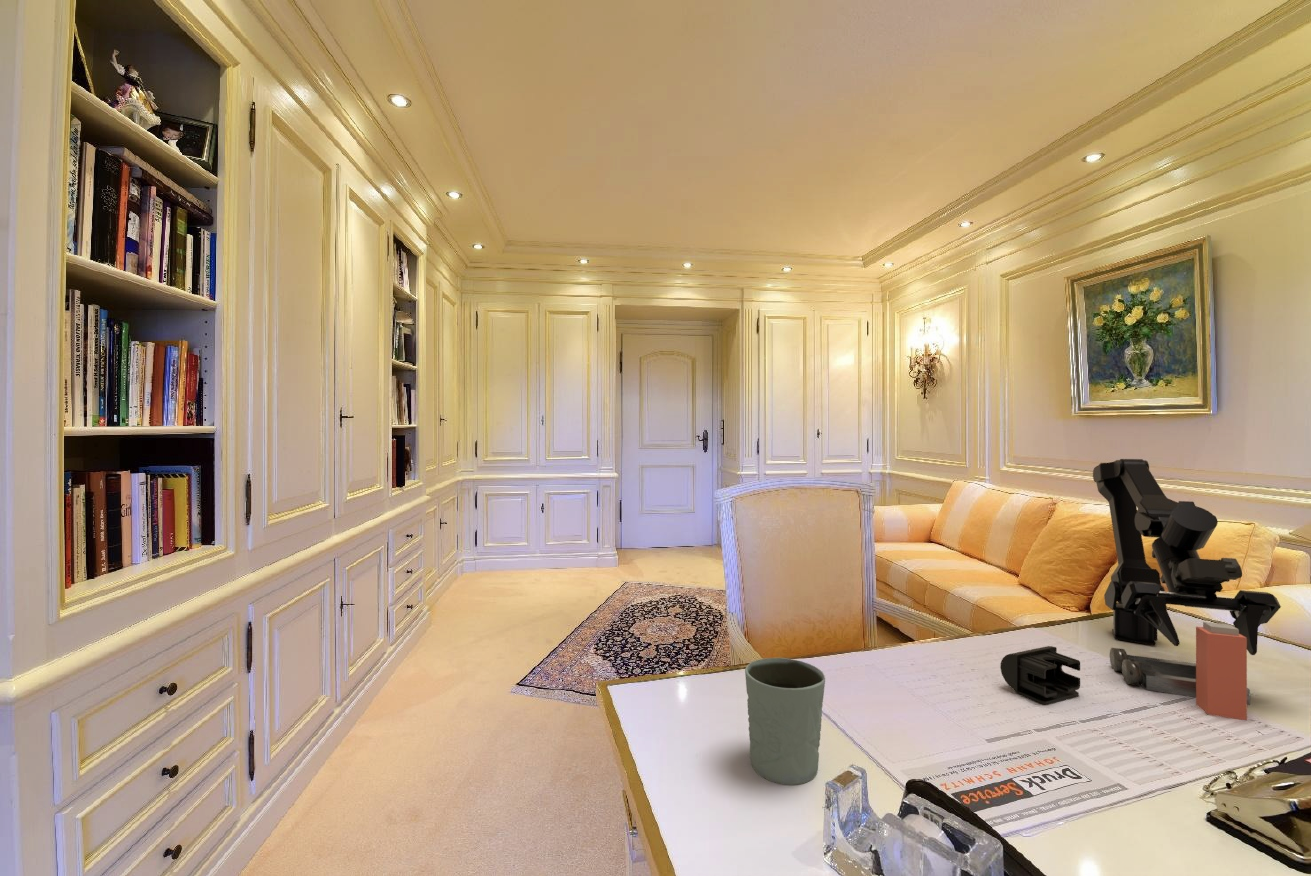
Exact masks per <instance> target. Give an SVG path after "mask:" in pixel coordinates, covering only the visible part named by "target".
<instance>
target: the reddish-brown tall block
mask: <svg viewBox="0 0 1311 876" xmlns="http://www.w3.org/2000/svg"><path fill="white" fill-rule="evenodd" d="M1247 654H1248V650H1247V638H1246V637H1244V636H1243V635H1241V634H1239V629H1237V628H1235V626H1234V625H1231V624H1226V623H1218V622H1209V621H1208V622H1207V621H1203V622H1202V626H1195V663H1196V697H1195V705H1196V706H1197V707H1199V708H1200V709H1201V710H1202V711H1203V712H1204V713H1205V714H1207V715H1209V716H1216V717H1221V718H1228V719H1229V718H1230V719H1235V720H1242V721H1247V720H1248V705H1247V688H1248V683H1247V682H1248V674H1247V673H1248V668H1247V666H1248V664H1247V663H1248V659H1247V658H1248V655H1247Z"/></svg>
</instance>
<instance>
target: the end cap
mask: <svg viewBox="0 0 1311 876" xmlns="http://www.w3.org/2000/svg"><path fill="white" fill-rule="evenodd" d="M999 666H1000V672H1001V676H1002V678H1003V679H1004V681H1005V683H1006V684H1007V686H1009V687H1010V688H1011V689H1012V690H1013V691H1014V692H1015V693H1016V694H1017V695H1019V696H1021V697H1023V698H1025V699H1028V700H1030V701H1032V702H1034V703H1037V704H1039V705H1042V706H1048V705H1052V704H1056V703H1059V702H1063V701H1067V700H1066V699H1068V700H1070V699H1074V698H1078V697H1080V695H1079V691H1078V690H1079V689H1080V687H1081V677H1079V676H1075V675H1072V674H1070V673H1067V672H1065V671H1064V670H1063V668H1062V667H1063V666H1065V667H1067V668H1070V669H1073V670H1075V671H1078V672H1079V671H1081V661H1080V660H1079V659H1076V658H1073V657H1071V656H1067V655H1064V654H1062V653H1058V652H1057V647H1056V646H1053V645H1051V646H1050V645H1046V646H1043V647H1037V648H1033V649H1032V648H1031V649H1026V650H1022V651H1018V652H1013V653H1009V654H1006V655H1004V657H1002V659H1001V662H1000V665H999Z"/></svg>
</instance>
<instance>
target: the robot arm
mask: <svg viewBox="0 0 1311 876" xmlns="http://www.w3.org/2000/svg"><path fill="white" fill-rule="evenodd" d="M1149 464H1150V463H1149V462H1148V460H1146V459H1145V460H1144V459H1142V458H1120V459H1116V460H1114V461H1111V462H1100V463H1099V464H1098V465H1096V466H1094V467H1093V469H1092V470H1093V471H1092V478H1093V481H1094V483H1096V487H1097V491H1098V493H1099V494H1100V495H1101V496H1102V497H1104V499H1106V501H1107V502H1108V506H1109V512H1110V519H1111V525H1112V531H1113V538H1114V543H1115V545H1114V546H1115V550H1116V552H1115V553H1116V558H1117V566H1116V568H1115V569H1114V571H1113V573H1112V574H1111V576H1110V582H1109V584H1108V586H1107V588H1106V590H1105V593H1104V595H1103V598H1104V604H1105V606H1107V607H1108V609H1111V610H1112V612H1113V615H1112V616H1113V617H1112V618H1113V620H1112V621H1113V622H1112V623H1113V625H1112V627H1113V628H1112V629H1111V632H1112V635H1113V637H1114V639H1115V640H1117V641H1126V642H1131V643H1135V644H1137V643H1138V644H1142V645H1143V644H1144V645H1148V646H1149V645H1150V646H1156V642H1157V641H1158V631H1159V633H1160V634H1162V636H1163V637H1165V638H1166V639H1167V640H1168V641H1169V642H1170V643H1171V644H1172V645H1173V646H1175V647H1179V646H1180V639H1179V635H1178V633H1177V631H1176V628H1175V626H1174V623H1173V621H1172V620H1171V617H1170V615H1169V612H1168V610H1167V605H1173V606H1184V607H1187V608H1196V609H1197V608H1198V609H1209V610H1220V611H1228V612H1229V614H1230V616H1231V617H1232V618H1233V619H1234V621H1233V622H1232V623H1233V627H1235V628H1237V629H1239V634H1241V635H1243V636H1244V637H1246V638H1247V653H1249V654H1250V655H1251V656H1255V655H1256V654H1257V653H1258V635H1259V634H1258V633H1259V627H1260V626H1261V625H1263V624H1264V625H1265V624H1268V622H1270V620H1271V619H1272V618H1273V617H1274V615H1276V614H1277V613H1278V611H1279V610H1280V609H1281V607H1282V606H1281V605H1280V601H1279V600H1278V598H1277V597H1276V596H1275V595H1274V594H1272V593H1271V592H1266V591H1265V592H1264V591H1253V590H1252V591H1251V590H1242V589H1241V590H1239V591H1238V592H1237V594H1236V595H1235V596H1234V598H1233V597H1232V598H1231V597H1222V596H1217V593H1221V592H1222V590H1223V589H1224V588H1223V585H1222V584H1223V583H1228V582H1230V581H1231V580H1232V581H1236V580H1238V579H1240V578H1242V577H1243V571H1242V567H1241V565H1240V564H1239V562H1238V560H1237V559H1236V558H1232V557H1221V558H1220V559H1210V558H1209V559H1208V558H1207V559H1206V558H1201V557H1200V555H1199V552H1198V550H1201V549H1204V548H1205V546H1206V544H1207V543H1208V541H1209V540H1210V537H1212V535H1213V532H1215V531H1214V530H1215V529H1216V528H1217V526H1218V523H1219V522H1218V518H1217V517H1216V515H1214V514H1213V513H1212V512H1210V511H1209V510H1207V509H1205V508H1203V507H1200V506H1197V505H1196V504H1195V501H1190V500H1189V501H1186V500H1179V501H1178V502H1177V501H1175V500H1173V499H1170V498H1168V497H1167V496H1166V495H1165V493H1164V491H1163V489H1162V488H1161V486H1160V485H1159V483H1158V482H1157V480H1156V478H1155V477H1154V475H1153V473H1152V472H1151V470H1150V465H1149ZM1143 537H1145V538H1156V539H1154V540H1153V542H1152V543H1151V548H1152V551H1151V558H1152V559H1156V561H1157V564H1158V566H1159V570H1160V571H1158V570H1157V568H1152V567H1151V566H1150V565H1149V564H1148V563H1147V560H1146V554H1145V549H1144V543H1143ZM1160 572H1161V574H1160ZM1162 584H1165V586H1166V587H1167V591H1166V590H1165V588H1164V586H1163V585H1162Z"/></svg>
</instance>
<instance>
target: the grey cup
mask: <svg viewBox="0 0 1311 876" xmlns="http://www.w3.org/2000/svg"><path fill="white" fill-rule="evenodd" d="M744 672H745V673H744V675H745V688H746V694H747V715H748V719H747V720H748V725H749V726H748V732H749V733H748V734H749V735H748V736H749V755H750V756H749V757H750V758H749V759H750V763H751V766H752V768H753V770H754V771H755V772H756V773H757V774H758V776H760V777H761V778H764V779H766V780H768V781H770V782H773V783H775V784H780V785H788V786H795V785H802V784H803V785H804V784H806V783H808V782H810V781H812V780H813V779H814V778H815V777H816V776H817V774H818V771H819V762H820V761H819V760H820V753H819V749H820V746H821V743H820V742H821V731H822V717H823V706H824V705H823V703H824V695H825V694H824V693H825V686H826V675H825V673H824V672H823V671H822V670H821V669H820V668H818V667H816V666H815V665H812V664H811V663H808V662H805V661H803V660H799V659H798V660H797V659H793V658H786V657H768V658H766V657H765V658H760V659H756V660H753V661H751V662H749V663H748V664H747V665H746V666H745V670H744Z"/></svg>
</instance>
